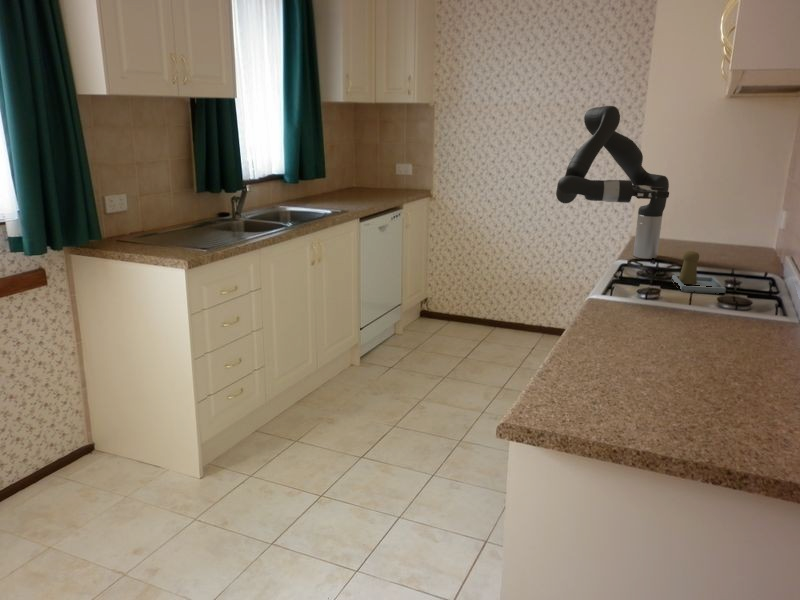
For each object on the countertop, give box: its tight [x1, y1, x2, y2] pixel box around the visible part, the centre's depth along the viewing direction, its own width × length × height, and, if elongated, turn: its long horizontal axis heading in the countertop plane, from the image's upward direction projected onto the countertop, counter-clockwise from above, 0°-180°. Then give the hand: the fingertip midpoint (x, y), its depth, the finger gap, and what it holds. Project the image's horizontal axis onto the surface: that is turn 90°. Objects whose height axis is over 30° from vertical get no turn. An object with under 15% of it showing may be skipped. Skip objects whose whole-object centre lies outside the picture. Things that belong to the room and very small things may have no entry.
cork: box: [679, 250, 700, 285], centre depth 229 cm, size 6×6×11 cm
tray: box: [671, 274, 727, 295], centre depth 227 cm, size 14×14×2 cm
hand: (665, 192), depth 222 cm, fingers open, 8 cm apart
